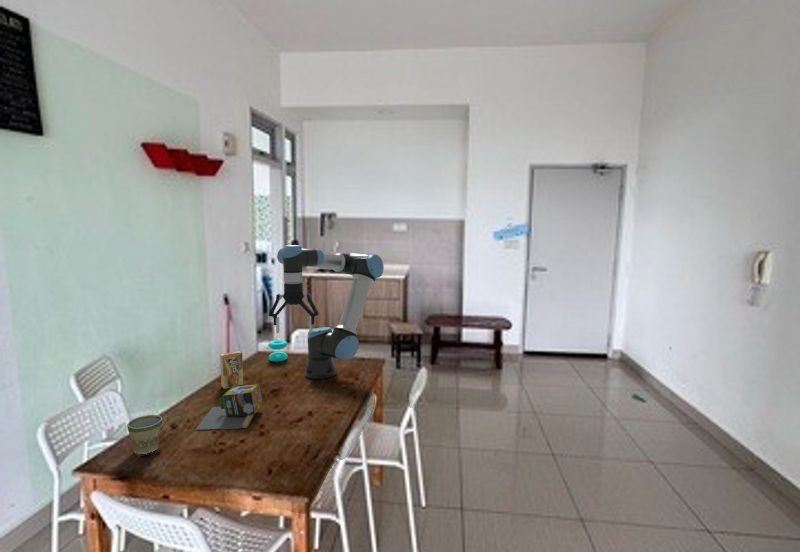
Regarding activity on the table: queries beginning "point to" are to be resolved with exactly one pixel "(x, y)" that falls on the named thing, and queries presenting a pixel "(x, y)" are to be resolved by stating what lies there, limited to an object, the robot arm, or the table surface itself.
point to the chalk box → (242, 400)
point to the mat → (223, 420)
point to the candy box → (231, 369)
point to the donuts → (276, 346)
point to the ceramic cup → (145, 433)
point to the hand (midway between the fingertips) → (294, 332)
